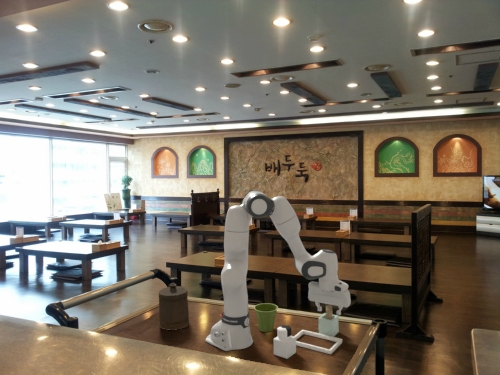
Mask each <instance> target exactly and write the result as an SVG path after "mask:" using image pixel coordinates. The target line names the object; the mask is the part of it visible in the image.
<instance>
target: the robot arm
mask: <svg viewBox="0 0 500 375" xmlns="http://www.w3.org/2000/svg"><path fill="white" fill-rule="evenodd" d="M239 203H240V204H236V205H235V204H234V205H232V206H230V207H229V208H228V210H227V213H226V216H225V222H224V234H223V238H224V241H223V248H224V250H223V251H224V252H223V253H224V264H223V268H222V270H221V273H220V278H221V279H220V280H221V289H222V294H223V310H224V311H222V313H219V317H220V318H221V319H220V320H219V321H217V322H216V323H215V324H214V325H213V326H212V327H211V329H210V333H209V335H207V337H206V338H205V342H206V343H208V344H210V345H211V346H215V347H217V348H218V349H220V350H222V351H225V352H228V351H229V352H230V351H232V350H233V351H234V350H242V349H243V350H244V349H246V348H249V347H250V346H252V345H253V343H254V339H253V337H252V334H251V328H250V311H249V298H248V297H249V295H248V286H247V274H248V270H249V268H248V267H249V239H250V238H249V237H250V223H251V222H250V221H251V219H252V218H256V219H257V218H261V219H262V218H265V217H269V218H270V219H271V222H272V223H273V225H274V226H275V229H276V231H277V232H278V233H279V235H280V236H281V237H282V238H283V239H284V240H285V242H286V243H287V245H288V247H289V249H290V250H291V253H292V254H293V255H292V256H293V265H294V267H295V269H296V271H297V272H299V274H300V275H302V277H304V278H305V279H306V280H310V282H308V292H307V294H308V295H307V298H308V301H310V302H315V306H316V307H317V312H322V311H323V306H321V305H320V303H321V304H325V305H326V304H330V305H332V306H335V307H336V306H337V307H338V309H337V310H336V312H335V313H336V314H335V315H337V316H341V315H342V312H341V311H342V310H343V308H348V307H350V305H351V301H352V300H351V292H350V291H349V284H348V283H346V282H345V281H342V280H340V279H339V276H338V275H339V274H338V272H339V271H338V270H339V263H338V262H339V261H338V255H337V253H336V252H335V251H334V250H331V249H326V248H323V249H322V248H321V249H320V250H319V251H318V252H317V253H315V254H313V255H312V254H311V253H309V252H308V250H306V248H305V246H304V244H303V242H302V240H301V237H300V232H301V229H302V228H301V223H300V220H299V217H298V216H297V213H296V211H295V209H294V208H293V206H292V205H291V204H290V202H289V200H288V199H287V198H286V197H285V196H284V195H283V196H282V195H278V196H274V197H272V198H270V197H269V196H267V195H266V194H265V192H262V191H260V190H256V189H253V190H250V191H248V192H247V193H246V194H245V195H244V197H243V198H242V200H241V202H239ZM315 280H318V281H315Z"/></svg>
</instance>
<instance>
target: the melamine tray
mask: <svg viewBox="0 0 500 375" xmlns="http://www.w3.org/2000/svg"><path fill="white" fill-rule="evenodd" d="M303 335H306V336H310V337H314V338H319V339H322V340H328V341H331V342H335V343H334V344H333V345H332V346H331V347H330V348H326V347H321V346H319V345H318V346H317V345H314V344H310V343H307V342H302V341H299V340H298V339H299V338H300V337H302V336H303ZM294 337H296V347H300V348H303V349H307V351H309V352H310V350H311V352H312V353H316V354H317V352H318V354H319V355H320V354H321V353H322V356H323V355H324V356H325V354H326V357H327V356H328V357H331V355H332V354H333V353H334V352H335V351H336V350H337V349H338V348H339V347H340V346H341V345H342V343H343V338H340V337H336V336H334V337H332V336H328V335H323V334H319V332H314V331H310V330H305V329H301V330H300V331H298V333H296V334H295V335H294ZM308 349H309V350H308ZM319 352H320V353H319ZM323 353H324V354H323Z"/></svg>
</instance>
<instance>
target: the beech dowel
mask: <svg viewBox="0 0 500 375" xmlns="http://www.w3.org/2000/svg"><path fill="white" fill-rule="evenodd" d="M325 313H326V319H330V320H332V319H333V318H332V315H333V305H330V304H325Z"/></svg>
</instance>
